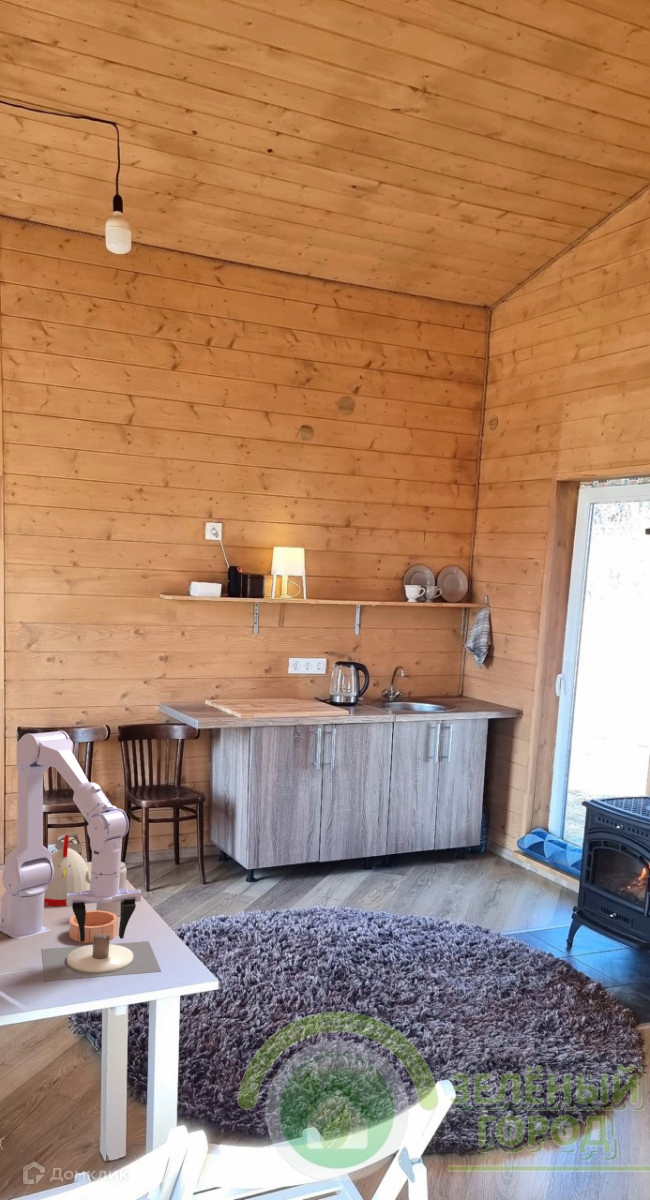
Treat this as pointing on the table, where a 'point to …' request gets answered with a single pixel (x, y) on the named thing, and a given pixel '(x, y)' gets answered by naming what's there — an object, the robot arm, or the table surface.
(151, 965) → the mat
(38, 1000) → the table surface
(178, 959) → the table surface
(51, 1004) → the table surface
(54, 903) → the kitchen timer
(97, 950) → the lid
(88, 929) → the bowl
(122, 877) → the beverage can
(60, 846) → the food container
